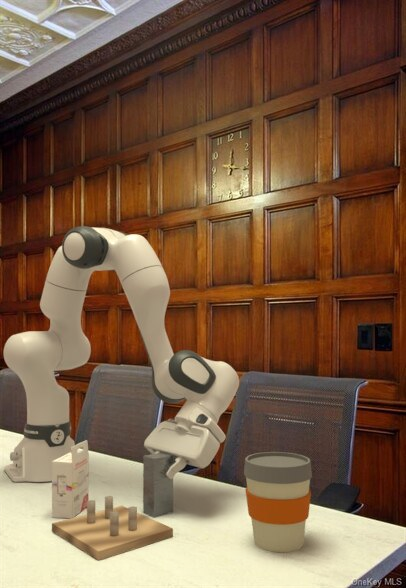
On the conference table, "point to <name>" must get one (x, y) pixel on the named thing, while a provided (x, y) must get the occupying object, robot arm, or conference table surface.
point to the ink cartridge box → (70, 482)
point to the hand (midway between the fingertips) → (159, 474)
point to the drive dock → (102, 530)
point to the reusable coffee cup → (278, 499)
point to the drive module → (157, 485)
